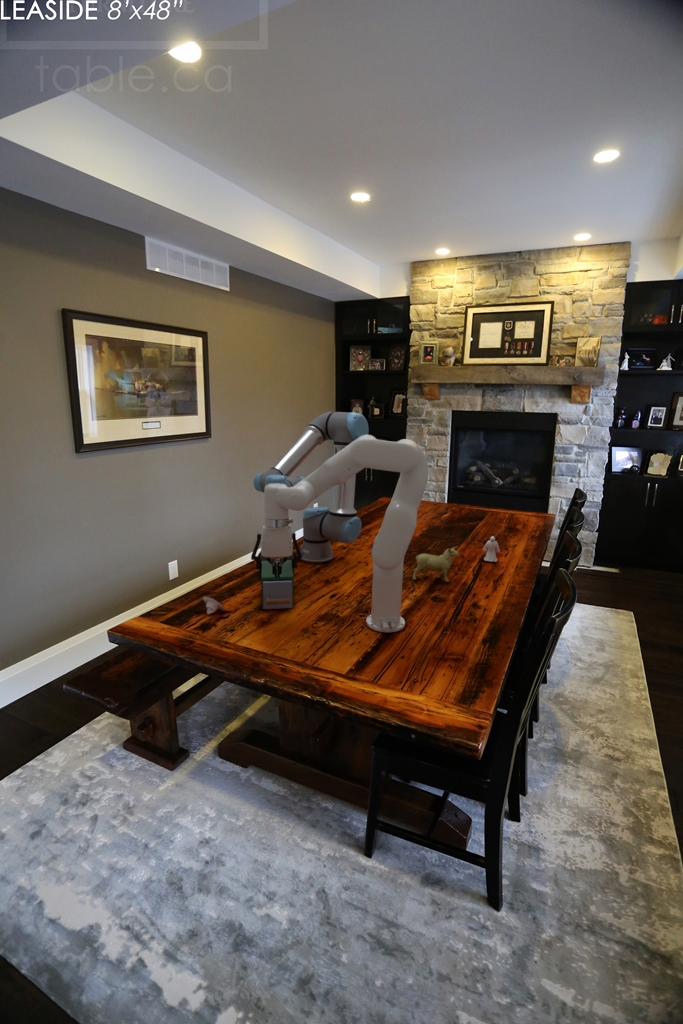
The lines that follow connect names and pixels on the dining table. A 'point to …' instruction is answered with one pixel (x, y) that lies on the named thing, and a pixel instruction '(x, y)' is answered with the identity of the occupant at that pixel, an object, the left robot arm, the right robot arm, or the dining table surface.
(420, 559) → the toy
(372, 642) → the dining table surface
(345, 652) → the dining table surface
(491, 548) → the figurine
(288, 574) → the cabinet
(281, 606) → the drawer
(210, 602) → the seashell
